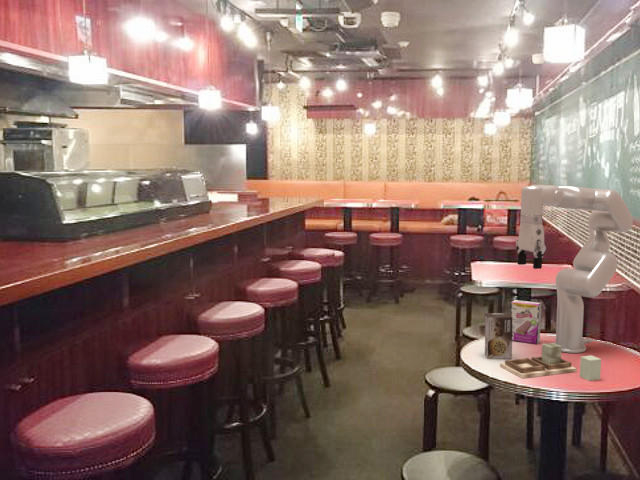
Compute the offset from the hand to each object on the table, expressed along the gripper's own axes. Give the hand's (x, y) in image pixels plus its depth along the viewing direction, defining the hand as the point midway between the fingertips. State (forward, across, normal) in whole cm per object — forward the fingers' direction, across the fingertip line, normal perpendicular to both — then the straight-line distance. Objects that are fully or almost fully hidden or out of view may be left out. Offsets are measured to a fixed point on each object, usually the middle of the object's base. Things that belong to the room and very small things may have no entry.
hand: (529, 266), depth 225 cm
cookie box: (+35, +4, +9) cm, 36 cm away
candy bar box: (+35, +19, -12) cm, 42 cm away
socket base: (+35, -12, +3) cm, 37 cm away
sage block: (+35, -25, -8) cm, 43 cm away
